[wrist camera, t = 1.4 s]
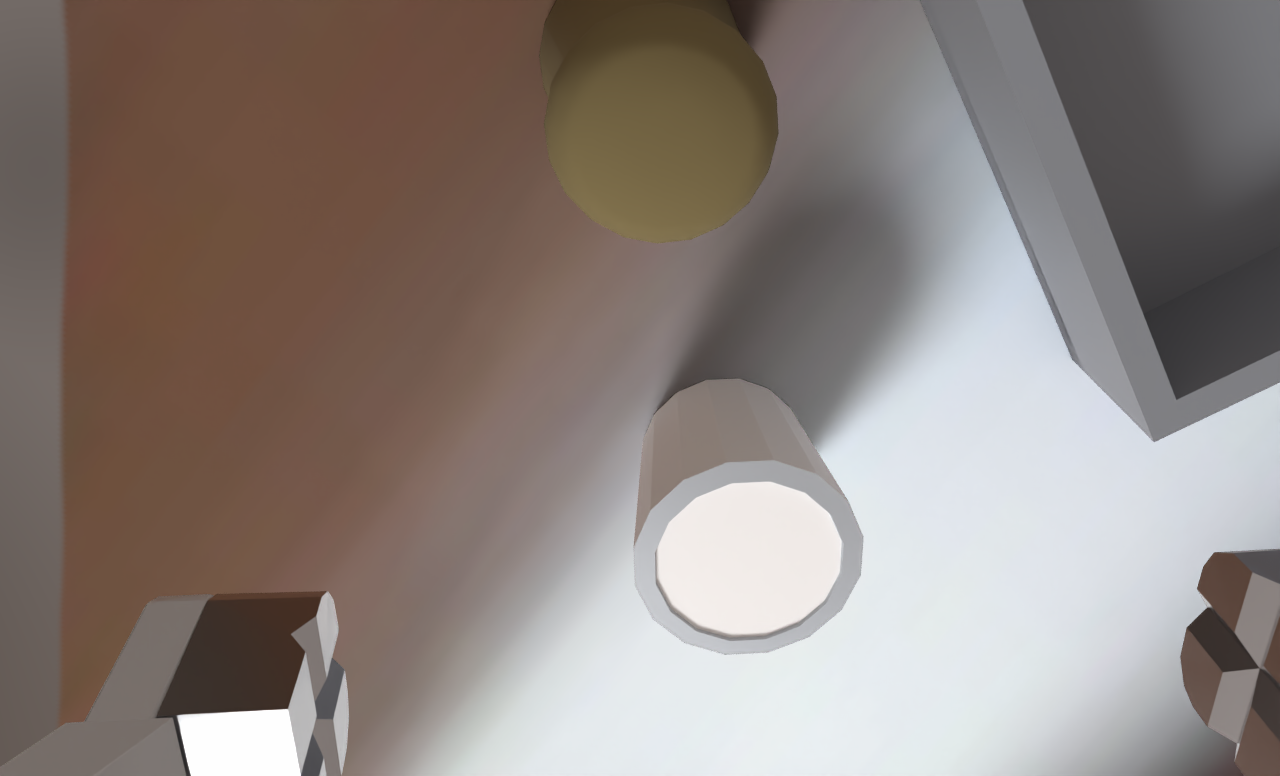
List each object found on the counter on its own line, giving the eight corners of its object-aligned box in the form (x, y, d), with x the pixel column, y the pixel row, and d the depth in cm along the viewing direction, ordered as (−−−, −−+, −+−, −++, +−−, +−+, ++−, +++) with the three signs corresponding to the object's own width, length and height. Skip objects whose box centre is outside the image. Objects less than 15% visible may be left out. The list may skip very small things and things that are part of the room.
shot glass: (803, 341, 37) (848, 438, 31) (833, 511, 40) (879, 631, 34) (603, 385, 38) (608, 490, 31) (647, 551, 41) (659, 678, 34)
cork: (672, -93, 32) (714, -73, 22) (778, 89, 34) (861, 182, 24) (498, 30, 33) (462, 102, 23) (613, 197, 35) (625, 329, 25)
